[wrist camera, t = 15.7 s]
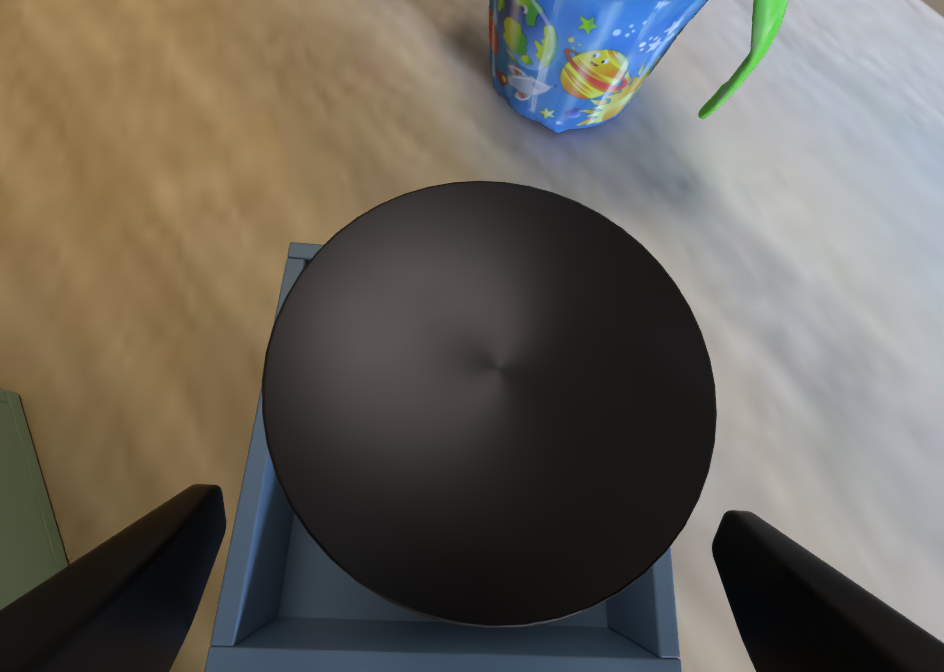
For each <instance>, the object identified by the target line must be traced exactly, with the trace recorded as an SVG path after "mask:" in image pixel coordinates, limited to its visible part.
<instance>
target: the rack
mask: <svg viewBox="0 0 944 672" xmlns="http://www.w3.org/2000/svg"><path fill="white" fill-rule="evenodd" d="M67 566H68V563H67V560H66V557H65V553H64V550H63V546H62V543H61V539H60V536H59V533H58V529H57V526H56V522H55V519H54V515H53V512H52V509H51V505H50V502H49V498H48V495H47V491H46V488H45V485H44V481H43V478H42V474H41V471H40V467H39V464H38V461H37V457H36V454H35V450H34V447H33V443H32V440H31V437H30V433H29V430H28V426H27V423H26V419H25V416H24V413H23V409H22V406H21V402H20V399H19V395H18V394H17V393H14V392H11V391H8V390H4V389H1V388H0V610H1V609H3V608H4V607H6V606H7V605H9V604H10V603H12V602H13V601H15V600H16V599H18V598H19V597H21V596H23V595H24V594H26V593H27V592H29V591H30V590H32V589H33V588H35V587H36V586H38V585H39V584H41V583H42V582H44V581H46V580H47V579H49V578H50V577H52V576H53V575H55V574H56V573H58V572H59V571H61V570H62V569H64V568H66V567H67Z"/></svg>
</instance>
